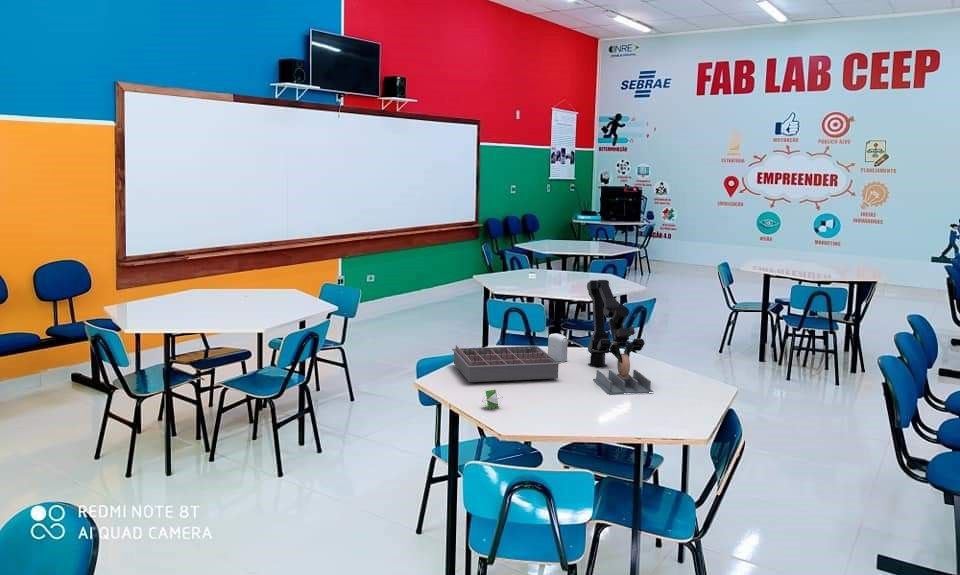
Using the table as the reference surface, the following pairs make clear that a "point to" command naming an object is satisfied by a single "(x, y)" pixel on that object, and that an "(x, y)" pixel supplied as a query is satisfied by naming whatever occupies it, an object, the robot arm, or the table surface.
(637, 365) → the table surface
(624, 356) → the peach disc
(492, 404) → the geometric puzzle
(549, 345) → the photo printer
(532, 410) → the table surface
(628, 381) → the dish rack
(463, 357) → the organizer tray
